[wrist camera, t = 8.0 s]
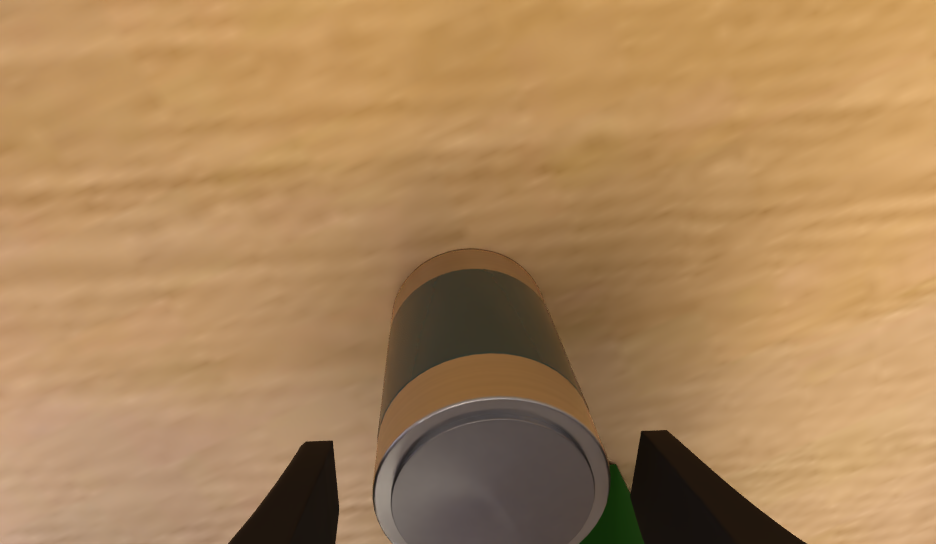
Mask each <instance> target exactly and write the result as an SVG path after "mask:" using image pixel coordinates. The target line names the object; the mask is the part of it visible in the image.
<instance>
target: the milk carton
mask: <svg viewBox="0 0 936 544" xmlns="http://www.w3.org/2000/svg"><path fill="white" fill-rule="evenodd" d="M609 466H610V476H611V481H610V492H609V496H608V500H607V504H606V506H605V509H604V511H603V513H602V515H601V517H600V519H599V520H598V522H597V524H596V525H595V527H594V528H593V529H592V530H591V532H590V533H589V534H588V535H587V536H586V537H585V538H584V539H583V540H582V541H581V542H580V543H579V544H645V543H644V541H643V539H642V535H641V532H640V529H639V526H638V523H637V519H636V516H635V512H634V509H633V505H632V502H631V498H630V495H631V494H630V492H629V490H628V488H627V486H626V484H625V482H624V480H623V478H622V476H621V474H620V472H619V469H618V467H617V465H616V464H612V465H609Z"/></svg>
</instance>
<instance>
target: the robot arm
mask: <svg viewBox="0 0 936 544" xmlns="http://www.w3.org/2000/svg"><path fill="white" fill-rule="evenodd" d="M630 498H631V502H632V505H633V509H634V512H635V516H636V519H637V523H638V526H639V529H640V532H641V535H642V539H643V541H644V543H645V544H806V543H805V542H803V541H802V540H800V539H799V538H797V537H796V536H794V535H793V534H792V533H790V532H789V531H787V530H786V529H785V528H783V527H782V526H780V525H779V524H778V523H777V522H775V521H774V520H773V519H771V518H770V517H769V516H767V515H766V514H765V513H763V512H762V511H761V510H760V509H758V508H757V507H756V506H754V505H753V504H752V503H751V502H749V501H748V500H747V499H746V498H744V497H743V496H742V495H741V494H739V493H738V492H737V491H736V490H735V489H733V488H732V487H731V486H730V485H729V484H728V483H726V482H725V481H724V480H723V479H722V478H720V477H719V476H718V475H717V474H716V473H715V472H714V471H712V470H711V469H710V468H709V467H708V466H707V465H706V464H704V463H703V462H702V461H701V460H700V459H699V458H698V457H697V456H695V455H694V454H693V453H692V452H691V451H690V450H689V449H688V448H686V447H685V446H684V445H683V444H682V443H681V442H680V441H679V440H677V439H676V438H675V437H674V436H673V435H672V434H670V433H669V432H668V431H667V430H659V431H641V436H640V442H639V448H638V454H637V460H636V465H635V471H634V477H633V483H632V489H631V495H630ZM338 515H339V501H338V490H337V480H336V470H335V459H334V449H333V441H310V442H305V443H304V444H303V445H301V447H300V448H299V450H298V451H297V453H296V455H295V456H294V458H293V459H292V461H291V462H290V464H289V465H288V467H287V468H286V470H285V471H284V473H283V474H282V475H281V477H280V478H279V480H278V481H277V483H276V484H275V485H274V487H273V488H272V489H271V491H270V492H269V493H268V495H267V496H266V497H265V499H264V500H263V501H262V503H261V504H260V505H259V507H258V508H257V509H256V511H255V512H254V513H253V514H252V516H251V517H250V518H249V519H248V521H247V522H246V523H245V524H244V525H243V527H242V528H241V529H240V530H239V531H238V532H237V534H236V535H235V536H234V537H233V538H232V540H231V541H230V542H229V543H228V544H335V541H336V533H337V524H338Z"/></svg>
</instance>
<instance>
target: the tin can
mask: <svg viewBox="0 0 936 544" xmlns="http://www.w3.org/2000/svg"><path fill="white" fill-rule="evenodd" d="M610 481H611V476H610V466H609V462H608V459H607V455H606V453H605V450H604V448H603V445H602V443H601V440H600V438H599V435H598V433H597V431H596V428H595V426H594V423H593V421H592V418H591V416H590V413H589V409H588V406H587V404H586V401H585V399H584V397H583V394H582V392H581V389H580V387H579V384H578V382H577V379H576V377H575V375H574V372H573V370H572V367H571V365H570V362H569V360H568V357H567V355H566V353H565V350H564V348H563V345H562V343H561V340H560V338H559V336H558V333H557V331H556V328H555V326H554V323H553V321H552V318H551V316H550V314H549V312H548V310H547V307H546V305H545V303H544V301H543V298H542V296H541V293H540V291H539V289H538V287H537V285H536V283H535V282H534V280H533V279H532V277H531V276H530V275H529V274H528V273H527V272H526V270H524V269H523V268H522V267H521V266H520V265H519V264H517V263H516V262H514V261H512V260H511V259H509V258H507V257H505V256H502V255H500V254H497V253H494V252H490V251H485V250H475V249H467V250H457V251H452V252H448V253H445V254H442V255H439V256H437V257H434V258H432V259H430V260H429V261H427V262H425V263H424V264H422V265H421V266H420V267H418V268H417V269H416V270H415V271H414V272H413V273H412V274H411V275H410V276H409V277H408V278H407V279H406V281H405V282H404V284H403V285H402V286H401V288H400V290H399V292H398V294H397V297H396V300H395V303H394V307H393V313H392V321H391V329H390V335H389V342H388V351H387V359H386V368H385V376H384V385H383V394H382V402H381V411H380V420H379V428H378V441H377V453H376V462H375V471H374V480H373V505H374V510H375V513H376V516H377V519H378V522H379V524H380V526H381V528H382V530H383V531H384V533H385V535H386V536H387V537H388V539H389V540H390V541H391V543H392V544H579V543H580V542H581V541H582V540H583V539H584V538H585V537H586V536H587V535H588V534H589V533H590V532H591V530H592V529H593V528H594V527H595V525H596V524H597V522H598V520H599V519H600V517H601V515H602V513H603V511H604V509H605V506H606V504H607V500H608V496H609V492H610Z"/></svg>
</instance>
